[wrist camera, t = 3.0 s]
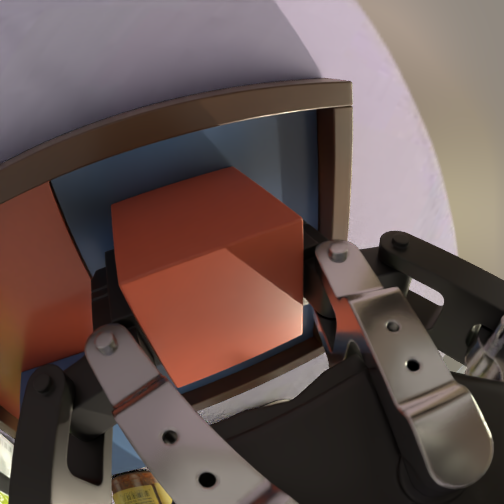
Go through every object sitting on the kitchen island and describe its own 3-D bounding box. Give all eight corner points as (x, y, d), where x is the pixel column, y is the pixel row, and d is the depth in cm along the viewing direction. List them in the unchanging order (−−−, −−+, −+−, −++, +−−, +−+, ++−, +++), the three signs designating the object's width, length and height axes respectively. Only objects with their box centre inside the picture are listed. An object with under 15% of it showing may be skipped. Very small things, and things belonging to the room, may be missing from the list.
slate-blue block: (20, 371, 11) (20, 452, 7) (91, 348, 12) (105, 435, 8) (66, 413, 13) (77, 481, 10) (130, 395, 14) (150, 465, 11)
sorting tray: (-122, 253, 4) (-136, 274, 3) (325, 77, 11) (352, 81, 10) (37, 434, 14) (39, 454, 13) (319, 331, 20) (333, 348, 19)
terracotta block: (110, 204, 9) (117, 284, 6) (232, 165, 11) (304, 217, 7) (148, 300, 12) (176, 389, 9) (247, 263, 13) (303, 334, 10)
